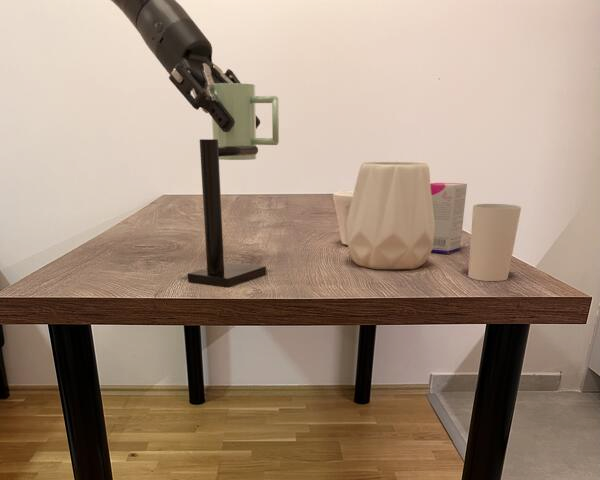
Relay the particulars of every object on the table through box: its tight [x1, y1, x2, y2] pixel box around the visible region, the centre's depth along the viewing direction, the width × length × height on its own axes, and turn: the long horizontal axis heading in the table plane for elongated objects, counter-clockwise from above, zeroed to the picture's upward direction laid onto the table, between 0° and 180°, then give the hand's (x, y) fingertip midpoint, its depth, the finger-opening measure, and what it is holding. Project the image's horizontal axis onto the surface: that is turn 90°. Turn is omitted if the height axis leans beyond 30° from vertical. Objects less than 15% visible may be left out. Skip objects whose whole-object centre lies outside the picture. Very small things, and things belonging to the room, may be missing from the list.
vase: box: [346, 161, 435, 271], centre depth 101 cm, size 14×14×15 cm
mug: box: [211, 82, 280, 161], centre depth 94 cm, size 11×6×10 cm, turn 62°
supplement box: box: [430, 182, 468, 255], centre depth 113 cm, size 6×6×12 cm
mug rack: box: [187, 138, 267, 288], centre depth 91 cm, size 14×7×18 cm, turn 152°
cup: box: [332, 190, 354, 247], centre depth 119 cm, size 10×10×9 cm
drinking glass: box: [467, 203, 522, 282], centre depth 93 cm, size 7×7×10 cm
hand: (243, 127), depth 95 cm, fingers closed on mug, 6 cm apart
